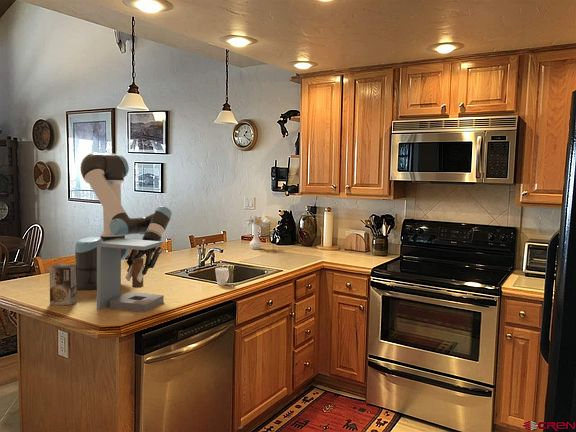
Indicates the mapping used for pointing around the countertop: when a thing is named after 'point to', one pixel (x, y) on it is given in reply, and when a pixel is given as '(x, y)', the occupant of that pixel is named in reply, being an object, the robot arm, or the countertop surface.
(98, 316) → the countertop surface
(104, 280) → the grey l-shaped frame
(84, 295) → the countertop surface
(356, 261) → the countertop surface
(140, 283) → the peg
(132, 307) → the socket
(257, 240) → the flower vase
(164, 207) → the robot arm
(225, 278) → the cup
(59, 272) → the coffee box
